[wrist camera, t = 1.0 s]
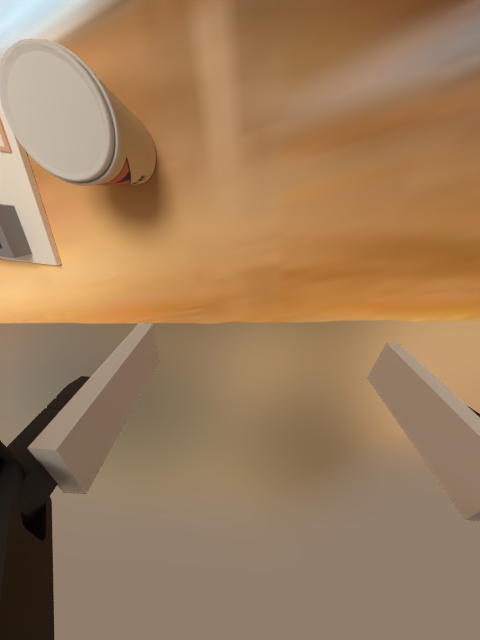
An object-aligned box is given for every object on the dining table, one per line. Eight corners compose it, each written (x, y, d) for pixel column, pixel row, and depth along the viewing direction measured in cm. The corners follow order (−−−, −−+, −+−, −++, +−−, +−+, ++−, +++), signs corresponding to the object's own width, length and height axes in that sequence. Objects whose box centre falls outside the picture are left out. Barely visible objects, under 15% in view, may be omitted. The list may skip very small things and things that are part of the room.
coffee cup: (105, 191, 30) (29, 184, 19) (81, 103, 25) (-35, 31, 15) (167, 192, 30) (125, 185, 19) (155, 103, 25) (91, 30, 15)
